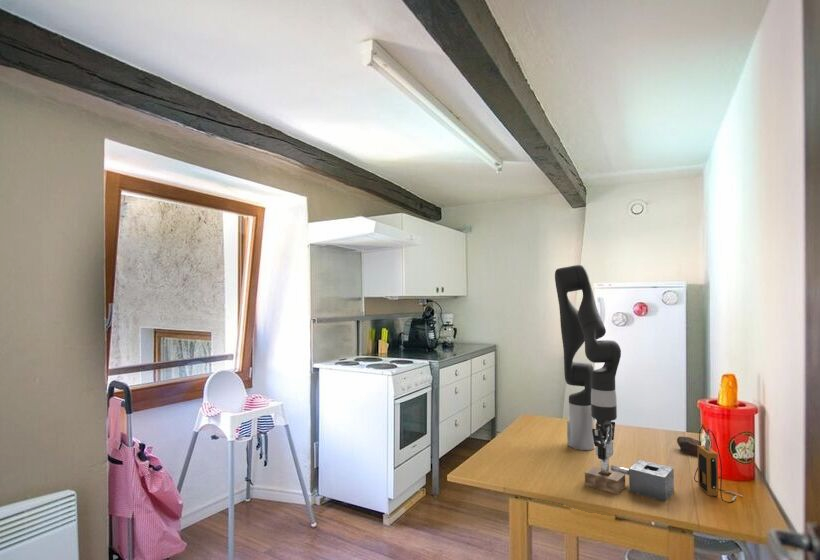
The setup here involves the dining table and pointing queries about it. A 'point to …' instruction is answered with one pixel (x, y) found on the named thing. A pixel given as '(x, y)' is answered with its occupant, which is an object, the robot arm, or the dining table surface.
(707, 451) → the multimeter
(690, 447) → the rough brown rock chunk
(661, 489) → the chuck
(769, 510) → the dining table surface
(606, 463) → the grey square peg
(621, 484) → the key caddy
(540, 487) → the dining table surface
